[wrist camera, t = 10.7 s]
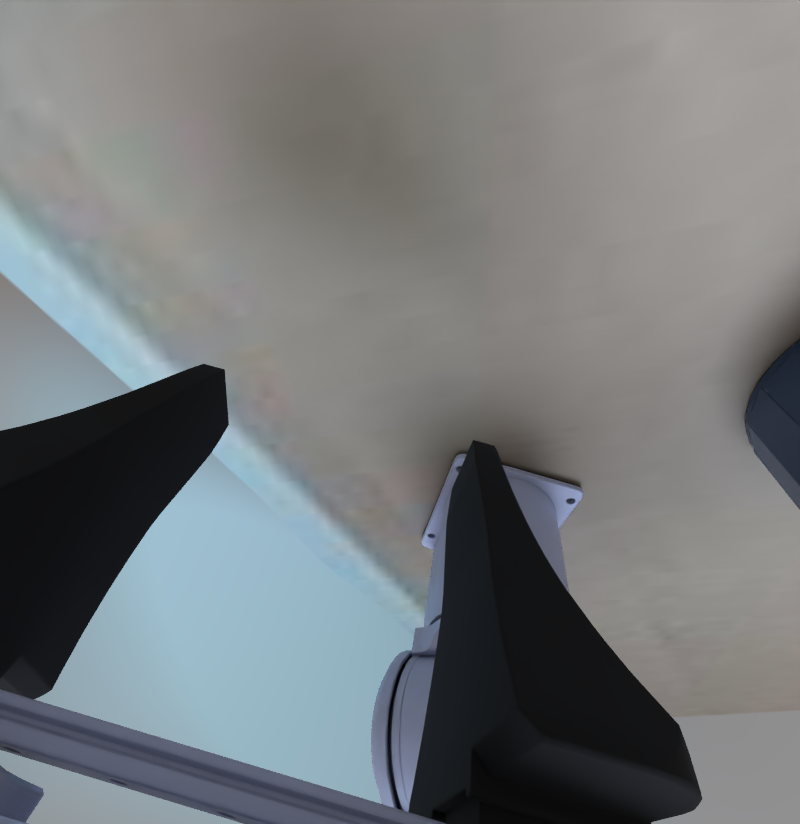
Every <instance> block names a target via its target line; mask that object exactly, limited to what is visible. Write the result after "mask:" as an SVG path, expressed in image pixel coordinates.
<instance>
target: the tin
mask: <svg viewBox="0 0 800 824" xmlns="http://www.w3.org/2000/svg"><path fill="white" fill-rule="evenodd" d="M745 424H746V431H747V435H748V438H749V441H750V443H751V445H752V446H753V448H754V452H755V454H756V455H757V456H758V458H759V459H760V460H761V461H762V463H763V464H764V465H765V466H766V468H767V469H768V470H769V471H770V473H771V474H772V475H773V477H774V478H775V479H776V480H777V482H778V483H779V484H780V485H781V487H782V488H783V489H784V490H785V492H786V493H787V494H788V495H789V497H790V498H791V499H792V500H793V502H794V503H795V504H796V506H797V507H798V508H799V509H800V340H799V341H798V342H796V343H795V344H794V345H793V346H791V347H790V348H789V349H788V350H787V351H785V352H784V353H783V354H782V355H781V356H780V357H779V358H778V359H777V360H776V361H775V362H774V363H773V364H772V366H771V367H770V368H769V369H768V370H767V372H766V373H765V374H764V375H763V377H762V378H761V380H760V381H759V383H758V384H757V386H756V388H755V389H754V392H753V394H752V396H751V398H750V400H749V404H748V408H747V411H746V422H745Z"/></svg>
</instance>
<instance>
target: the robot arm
mask: <svg viewBox="0 0 800 824" xmlns="http://www.w3.org/2000/svg"><path fill="white" fill-rule="evenodd" d="M228 425H229V423H228V410H227V396H226V383H225V370H224V369H220V368H217V367H213V366H210V365H206V364H202V365H199V366H196V367H193V368H190V369H188V370H185V371H182V372H180V373H177V374H175V375H172V376H170V377H167V378H165V379H162V380H160V381H157V382H155V383H152V384H150V385H147V386H144V387H142V388H139V389H137V390H134V391H132V392H129V393H127V394H124V395H121V396H118V397H115V398H112V399H109V400H107V401H104V402H101V403H98V404H95V405H92V406H89V407H86V408H84V409H80V410H77V411H74V412H71V413H68V414H64V415H61V416H58V417H54V418H50V419H47V420H43V421H39V422H36V423H32V424H28V425H24V426H21V427H16V428H11V429H7V430H2V431H0V750H3V751H7V752H10V753H13V754H16V755H20V756H23V757H26V758H29V759H33V760H36V761H39V762H43V763H46V764H50V765H52V766H56V767H59V768H62V769H66V770H69V771H72V772H76V773H79V774H82V775H86V776H89V777H92V778H96V779H99V780H102V781H105V782H109V783H112V784H116V785H118V786H122V787H125V788H128V789H132V790H135V791H138V792H142V793H145V794H148V795H152V796H155V797H158V798H162V799H165V800H168V801H171V802H174V803H178V804H181V805H184V806H188V807H191V808H194V809H197V810H201V811H204V812H208V813H211V814H214V815H217V816H221V817H224V818H227V819H230V820H234V821H237V822H240V823H244V824H651V822H653V821H657V820H661V819H665V818H669V817H674V816H678V815H682V814H685V813H687V812H690V811H693V810H694V809H695V808H696V807H697V806H698V805H699V803H700V802H701V800H702V796H701V791H700V788H699V785H698V781H697V778H696V775H695V771H694V768H693V765H692V762H691V758H690V754H689V752H688V749H687V746H686V743H685V740H684V737H683V735H682V732H681V729H680V727H679V725H678V724H677V723H676V721H674V719H673V718H672V717H671V716H670V715H669V714H668V713H667V712H666V710H665V709H664V708H663V707H662V706H661V705H660V704H659V703H658V702H657V701H656V699H655V698H654V697H653V696H652V695H651V694H650V693H649V692H648V691H647V690H646V689H645V687H644V686H643V685H642V684H641V683H640V682H639V681H638V680H637V679H636V678H635V676H634V675H633V674H632V673H631V672H630V671H629V670H628V668H627V667H626V666H625V665H624V664H623V662H622V661H621V660H620V659H619V658H618V656H617V655H616V654H615V653H614V651H613V650H612V649H611V648H610V647H609V645H608V644H607V643H606V642H605V641H604V639H603V638H602V637H601V635H600V634H599V633H598V632H597V630H596V629H595V628H594V626H593V625H592V624H591V622H590V621H589V620H588V618H587V617H586V616H585V614H584V613H583V612H582V610H581V609H580V607H579V606H578V605H577V603H576V602H575V601H574V599H573V598H572V596H571V595H570V594H569V589H568V583H567V577H566V570H565V564H564V558H563V552H562V546H561V540H560V534H559V528H560V527H561V526H562V524H563V523H564V522H565V520H566V519H567V518H568V516H569V515H570V514H571V512H572V511H573V510H574V508H575V507H576V506H577V504H578V503H579V502H580V500H581V499H582V498H583V491H582V489H581V488H580V487H578V486H575V485H571V484H568V483H565V482H561V481H558V480H554V479H551V478H547V477H544V476H540V475H537V474H533V473H530V472H526V471H523V470H519V469H516V468H512V467H509V466H505V465H502V463H501V460H500V457H499V455H498V452H497V450H496V448H495V446H493V445H489V444H486V443H482V442H479V441H475V440H473V441H472V444H471V446H470V448H469V451H468V453H467V454H459V455H457V456H456V457H455V459H454V462H453V464H452V467H451V469H450V471H449V474H448V476H447V479H446V481H445V484H444V486H443V488H442V491H441V493H440V496H439V498H438V501H437V503H436V505H435V508H434V510H433V513H432V515H431V518H430V520H429V522H428V525H427V527H426V530H425V532H424V535H423V537H422V542H421V543H422V545H423V546H425V547H427V548H431V549H434V552H433V560H432V567H431V574H430V581H429V589H428V596H427V603H426V611H425V618H424V627H423V628H416V629H415V634H414V640H413V647H412V651H404V652H402V653H400V654H399V655H398V656H396V658H395V659H394V660H393V662H392V663H391V665H390V666H389V669H388V670H387V672H386V674H385V676H384V678H383V680H382V682H381V685H380V688H379V691H378V694H377V698H376V702H375V707H374V713H373V720H372V732H371V750H372V751H371V752H372V763H373V769H374V775H375V779H376V783H377V786H378V789H379V793H380V797H381V801H382V804H379V803H376V802H373V801H369V800H366V799H363V798H359V797H356V796H353V795H349V794H346V793H343V792H339V791H336V790H333V789H330V788H326V787H323V786H319V785H316V784H313V783H310V782H306V781H303V780H299V779H296V778H293V777H289V776H286V775H283V774H280V773H276V772H273V771H270V770H266V769H263V768H260V767H256V766H253V765H250V764H246V763H243V762H239V761H236V760H233V759H230V758H226V757H223V756H220V755H216V754H213V753H210V752H206V751H203V750H200V749H196V748H193V747H190V746H186V745H183V744H180V743H176V742H173V741H170V740H166V739H163V738H160V737H157V736H153V735H149V734H146V733H143V732H140V731H137V730H133V729H130V728H127V727H123V726H120V725H117V724H113V723H110V722H107V721H103V720H100V719H97V718H93V717H90V716H87V715H83V714H80V713H77V712H73V711H70V710H66V709H63V708H60V707H57V706H53V705H50V704H47V703H43V702H40V701H37V700H33V699H36V698H38V697H40V696H42V695H44V694H46V693H47V692H49V691H50V690H52V688H53V686H54V684H55V683H56V680H57V679H58V677H59V674H60V673H61V671H62V669H63V667H64V666H65V664H66V662H67V660H68V659H69V657H70V655H71V653H72V651H73V650H74V648H75V646H76V644H77V642H78V640H79V639H80V637H81V635H82V633H83V632H84V630H85V628H86V627H87V625H88V623H89V622H90V619H91V618H92V616H93V615H94V613H95V611H96V610H97V608H98V606H99V605H100V603H101V601H102V600H103V598H104V596H105V595H106V593H107V591H108V590H109V588H110V587H111V585H112V583H113V582H114V580H115V579H116V577H117V576H118V574H119V573H120V571H121V570H122V568H123V566H124V565H125V563H126V562H127V560H128V559H129V557H130V556H131V554H132V553H133V551H134V550H135V548H136V547H137V545H138V544H139V542H140V541H141V539H142V538H143V537H144V535H145V533H146V532H147V530H148V529H149V528H150V526H151V525H152V524H153V523H154V521H155V520H156V519H157V517H158V516H159V515H160V513H161V512H162V511H163V510H164V509H165V508H166V506H167V505H168V504H169V503H170V502H171V500H172V499H173V498H174V497H175V495H177V493H178V492H179V491H180V490H181V489H182V487H183V486H184V485H185V484H186V483H187V481H188V480H189V479H190V478H191V477H192V476H193V474H194V473H195V472H196V471H197V470H198V468H199V467H200V466H201V465H202V463H203V462H204V461H205V460H206V459H207V457H208V456H209V455H210V454H211V452H212V451H213V449H214V448H215V446H216V445H217V443H218V441H219V440H220V438H221V437H222V435H223V433H224V432H225V430H226V428H227V427H228ZM458 466H462V467H461V468H459V467H458ZM569 498H573V499H569ZM42 797H43V789H42V788H40V787H38V786H36V785H34V784H31V783H29V782H27V781H25V780H23V779H21V778H19V777H17V776H15V775H13V774H12V773H10V772H8V771H6V770H5V769H4V768H3V767H1V766H0V824H27V823H26V821H27V819H28V818H29V816H30V815H31V813H32V812H33V810H34V809H35V807H36V806H37V804H38V803H39V801H40V800H41V798H42Z"/></svg>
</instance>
